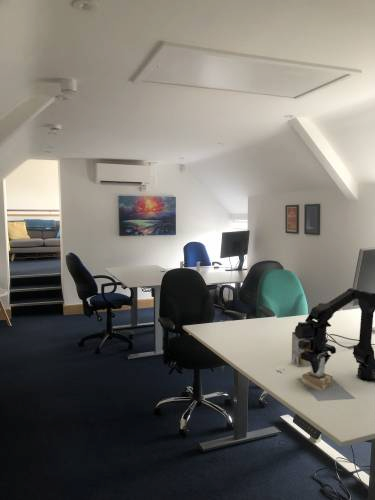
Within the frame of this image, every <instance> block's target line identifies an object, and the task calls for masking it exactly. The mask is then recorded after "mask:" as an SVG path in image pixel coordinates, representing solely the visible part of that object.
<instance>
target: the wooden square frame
mask: <svg viewBox="0 0 375 500" xmlns="http://www.w3.org/2000/svg"><path fill="white" fill-rule="evenodd" d="M301 376H302V378H301V379H302V384H304V385H307V386H309V387H312V388H315V389H317V390H320V391H321V390H323V389H325V388H327V387H329V386H331V385H332V379H333V375H331V374H327V373H325V372H324V377H323V378H321V379H318V378H315V377H312V376H311V370H310V371H308V372H306V373H303V374H302V375H301ZM302 384H301V385H302Z"/></svg>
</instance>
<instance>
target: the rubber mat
mask: <svg viewBox="0 0 375 500" xmlns="http://www.w3.org/2000/svg"><path fill="white" fill-rule="evenodd" d="M296 380H297V381H298V382H299V383H300V384H301V385H302V386H303V387H304V388H305V389H306V390H307V391H308V392H309V393H310V395H312V396H313V398H315V400H317V402H323V401H337V400H338V401H340V400H341V401H342V400H355V399H356V397H355V396H354V395H352V393H350V392H349V391H348V390H346V388H344V387H343V386H342V385H341V384H339V383H338V382H337V381H336V380H334V379H333V378H332V385H331V386H329V387H327V388H325V389H323V390H321V391H320V390H317V389H315V388H312V387H309V386H307V385H304V384H302V378H296Z"/></svg>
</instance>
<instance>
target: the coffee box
mask: <svg viewBox="0 0 375 500" xmlns="http://www.w3.org/2000/svg"><path fill="white" fill-rule="evenodd" d="M291 334H292V335H291V364H292V365H294V366H295V367H297V368H305V367H311V363H310V362H309V361H306V360H303V359H300V354H301V353H302V352H304V351H310V350H308V349H303V350H301V348H299V347H298V342H299V341H302V340H304V341H306V340H309V339H310V338H304V339H298V338H297V337H296V335H295V331H292V332H291ZM310 352H312V351H310Z"/></svg>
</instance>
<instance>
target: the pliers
mask: <svg viewBox="0 0 375 500" xmlns="http://www.w3.org/2000/svg"><path fill="white" fill-rule="evenodd" d="M284 370H285V367H284V366H282V367H281V368H280V367H279V366H277V365H276V372H277V373H281V375H285V371H284Z"/></svg>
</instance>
